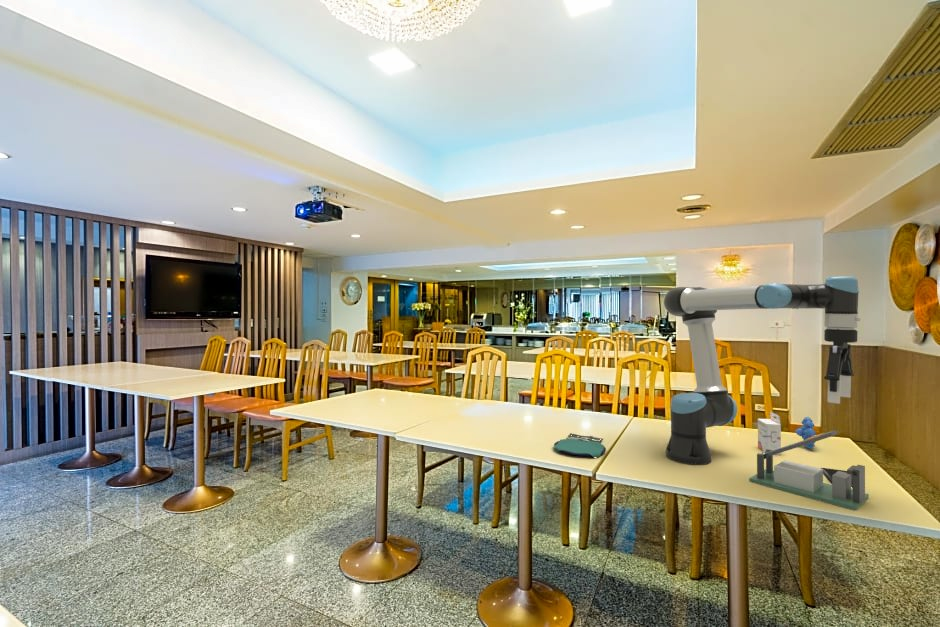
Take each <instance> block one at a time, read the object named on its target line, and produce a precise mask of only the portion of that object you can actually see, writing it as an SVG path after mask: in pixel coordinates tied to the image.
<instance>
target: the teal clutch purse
mask: <svg viewBox="0 0 940 627" xmlns="http://www.w3.org/2000/svg"><path fill="white" fill-rule="evenodd" d="M571 435H572V436H571ZM577 436H580V437H577ZM586 439H587V440H586ZM592 439H594V440H592ZM600 439H601V440H600ZM590 440H591V441H590ZM599 440H600V441H599ZM594 441H595V442H594ZM603 441H604V438H601V437H597V436H593V435H580V434H576V433H571V432H570V433H569V434H568V435H567V437H565V438H564V439H559V440H557V441H556V442H554V444H553V447H554V450H555V451H557V452H558V453H560V452H562V453H566V454H568V455H574V456H589V457H590V456H592V458H594V457H597V458H599V457H600V456H601V454H604V453H605V452H606V451H607V450H606V447H605V445H604V444H602V442H603Z"/></svg>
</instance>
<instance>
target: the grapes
mask: <svg viewBox="0 0 940 627" xmlns="http://www.w3.org/2000/svg"><path fill="white" fill-rule="evenodd" d="M801 424H802V426H801V427H798V428H796V430H795V434H796V435H797V436H799V437H801V438H802V440H806V439H808V438H810V437H812V436H815V435H817V432H816V431H815V429H814V427H815V426H816V425H815V423H814V420H812V419H811V417H809V416H808V417H807V416H806V417H804V418H803V419H802V421H801ZM815 443H816V442H813V443H810V444H806V445H804V447H806V448H807V449H808V450H812V449H813V448H815V446H816V445H815Z"/></svg>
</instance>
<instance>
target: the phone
mask: <svg viewBox="0 0 940 627" xmlns="http://www.w3.org/2000/svg"><path fill="white" fill-rule="evenodd" d="M820 468H821V469H823V477H825V478H826V479H827V481H828V482H829V483H830V485H832V475H833V474H835V473H836V472H837V471H841V472H845V473H847V470H843V469H834V468H827V467H820ZM851 487H852V488H851V489H853V475H851Z"/></svg>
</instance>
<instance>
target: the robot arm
mask: <svg viewBox="0 0 940 627" xmlns="http://www.w3.org/2000/svg"><path fill="white" fill-rule="evenodd" d="M859 293H860V291H859V280H858V278H857V277H855V276H847V275H846V276H828V277H826V279H825V281H824V283H821V284H794V283H792V284H790V283H789V284H786V283H780V282H773V283H767V284H766V283H765V284H760V285H748V286H747V285H746V286H734V287H733V286H732V287H721V288H719V287H717V288H707V287H706V288H705V287H701V286H700V287H699V286H697V287H694V286H693V287H691V286H690V287H689V286H685V287H684V286H677V287H674V288H671V289H670V290H669V291H668V292H666V294H665V295H664V299H663V306H664V308H665V310H666V311H667V312H668V313H669V314H671V315H672V316H675V317H681V319H682V324H684V325H685V326H686V327H687V330H688V331H687V332H688V338H689V344H690V349H691V356H692V362H693V369H694V374H695V375H694V376H695V381H696V387H695V388H694V390H693V392H681V393H677V394H673V396H672V397H671V399H670V400H671V402H670V406H669V407H670V408H669V409H670V437H669V441H668V443H667V446H666V448H665V456H666V457H667V458H668V459H670V460H672V461H675V462H678V463H683V464H688V465H708V464H710V463H712V453H711V450H710V448H709V447H710V446H709V444H708V441H707V429H706V428H712V427H722V426H725V425H728V424H730V423H731V422H733V421H734V420H735V419H736V416H737V413H738V406H737V405H738V404H737V403H736V400H735V399H733V398H732V396H730V394H729V392H728V388H726V387H725V386H723V383H722V378H721V371H720V365H719V360H718V354H717V348H716V341H715V336H714V335H715V334H714V329H713V323H714V322H715V320H716V313H717V312H718V311H727V310H729V311H731V310H732V311H733V310H734V311H735V310H761V309H763V310H765V309H766V310H767V309H773V310H775V309H793V310H794V309H795V310H799V309H824V321H823V322H824V323H823V324H824V325H823V326H824V328H825V329H824V332H823V334H824V337H823V338H824V341H825V342H828V343H829V342H831V343H833V344H832V345H829V346H828V349H829V351H828V352H829V354H828V361H827V368H826V375H824V377H823V378H824V379H823V380H827V399H826V400H827V403H831V404H838V405H840V404H841V398H849V399H850V398H851V388H852V386H851V385H852V377H855V372H854V370H853V361H852V351H851V347H852V345H851V344H852V343H853V344H854V343H855V344H856V343H857V341H858V330H857V328H858V322H860V321H861V318H860V317H858V316H859V312H858V308H859ZM850 343H851V344H850Z"/></svg>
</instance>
